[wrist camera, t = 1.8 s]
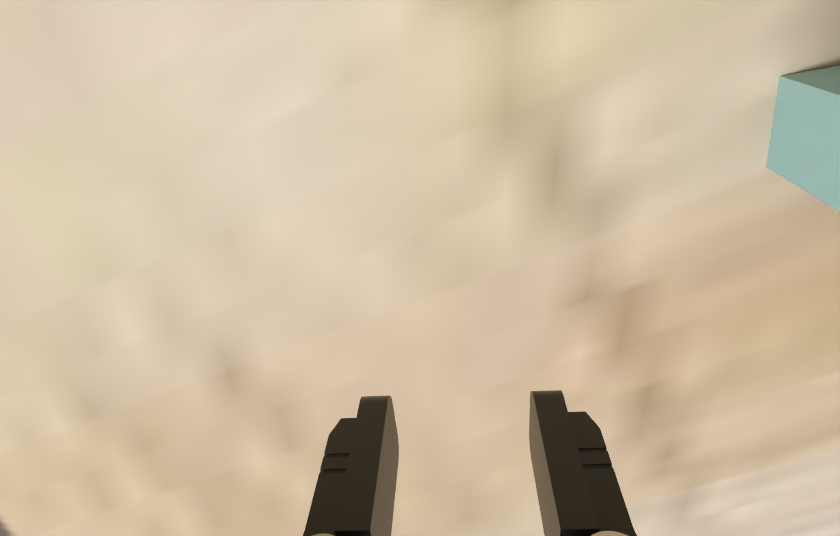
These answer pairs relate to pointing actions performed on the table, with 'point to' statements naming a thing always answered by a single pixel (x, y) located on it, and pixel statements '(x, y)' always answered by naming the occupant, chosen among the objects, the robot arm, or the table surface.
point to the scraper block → (808, 133)
